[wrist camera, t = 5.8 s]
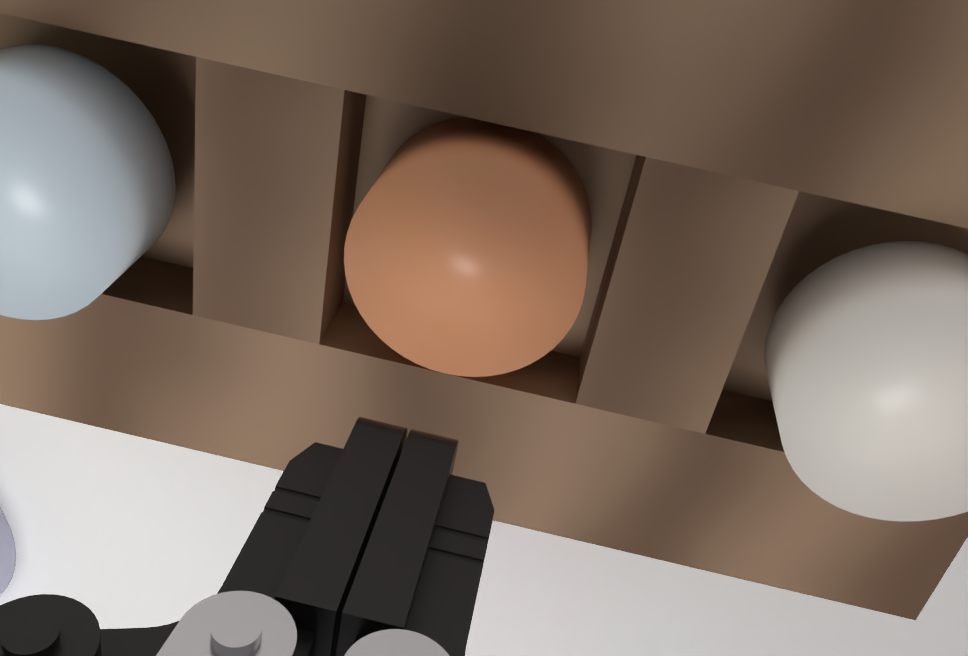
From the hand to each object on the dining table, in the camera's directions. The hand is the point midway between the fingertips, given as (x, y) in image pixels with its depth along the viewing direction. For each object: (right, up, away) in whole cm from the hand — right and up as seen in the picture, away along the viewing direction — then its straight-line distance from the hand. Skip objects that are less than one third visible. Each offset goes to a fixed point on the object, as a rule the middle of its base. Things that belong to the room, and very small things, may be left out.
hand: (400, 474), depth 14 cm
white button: (+10, +2, +6) cm, 11 cm away
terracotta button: (+1, +5, +7) cm, 9 cm away
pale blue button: (-8, +6, +6) cm, 12 cm away
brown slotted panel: (+1, +5, +8) cm, 10 cm away
